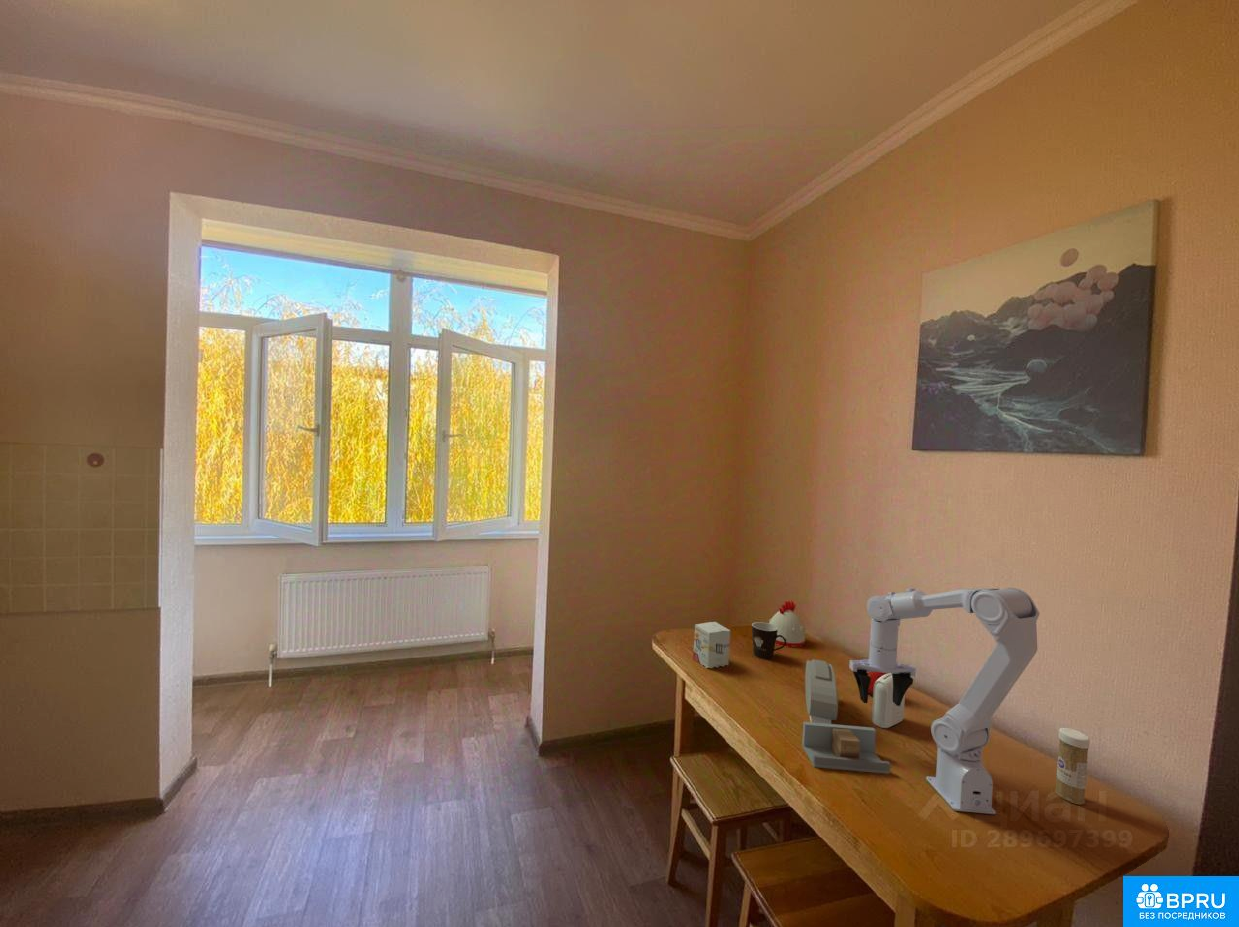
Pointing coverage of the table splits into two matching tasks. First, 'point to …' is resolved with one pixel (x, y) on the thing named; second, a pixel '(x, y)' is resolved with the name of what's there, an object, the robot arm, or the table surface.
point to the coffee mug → (765, 639)
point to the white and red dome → (788, 626)
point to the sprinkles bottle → (1072, 765)
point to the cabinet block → (845, 744)
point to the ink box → (711, 644)
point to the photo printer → (886, 703)
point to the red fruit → (874, 680)
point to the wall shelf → (821, 756)
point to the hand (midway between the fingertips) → (879, 702)
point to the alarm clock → (821, 692)
